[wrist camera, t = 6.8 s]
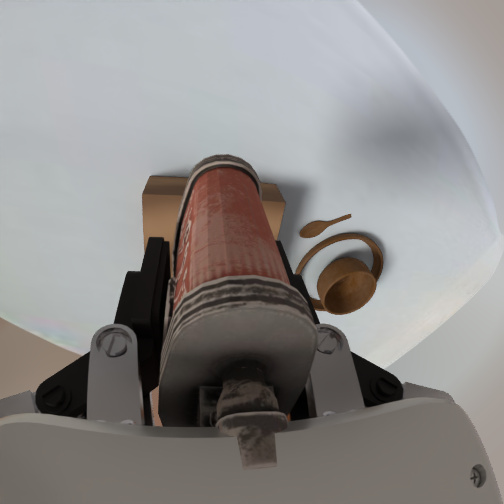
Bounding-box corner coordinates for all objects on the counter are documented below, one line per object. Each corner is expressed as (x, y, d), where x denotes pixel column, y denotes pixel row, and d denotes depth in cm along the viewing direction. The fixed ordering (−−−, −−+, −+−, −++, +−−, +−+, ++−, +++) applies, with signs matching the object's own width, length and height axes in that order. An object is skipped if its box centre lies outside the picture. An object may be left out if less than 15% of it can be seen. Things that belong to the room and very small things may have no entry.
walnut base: (149, 176, 26) (142, 194, 23) (275, 184, 29) (285, 202, 25) (152, 275, 33) (148, 300, 30) (255, 279, 35) (261, 303, 32)
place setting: (377, 298, 42) (394, 326, 38) (251, 341, 43) (258, 374, 39) (374, 197, 32) (400, 224, 27) (205, 254, 33) (207, 290, 28)
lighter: (182, 149, 10) (127, 476, 2) (273, 161, 11) (417, 441, 3) (170, 309, 15) (168, 516, 6) (237, 313, 15) (268, 513, 7)
